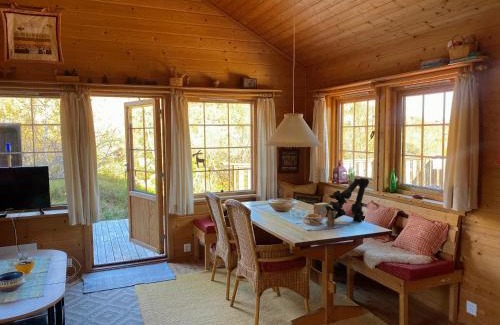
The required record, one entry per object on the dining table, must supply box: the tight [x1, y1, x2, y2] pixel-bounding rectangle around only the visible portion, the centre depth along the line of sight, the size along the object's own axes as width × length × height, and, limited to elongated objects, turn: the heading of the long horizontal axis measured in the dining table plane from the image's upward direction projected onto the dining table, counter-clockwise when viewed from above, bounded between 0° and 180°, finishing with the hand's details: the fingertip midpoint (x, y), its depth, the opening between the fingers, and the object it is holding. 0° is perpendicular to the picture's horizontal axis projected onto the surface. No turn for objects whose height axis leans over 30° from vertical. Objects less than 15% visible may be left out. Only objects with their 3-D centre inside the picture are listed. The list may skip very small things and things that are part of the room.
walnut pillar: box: [326, 211, 335, 228], centre depth 318 cm, size 4×4×12 cm
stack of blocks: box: [313, 202, 337, 218], centre depth 357 cm, size 21×6×12 cm, turn 110°
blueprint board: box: [325, 219, 350, 226], centre depth 328 cm, size 18×11×2 cm, turn 91°
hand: (330, 218), depth 318 cm, fingers open, 9 cm apart
